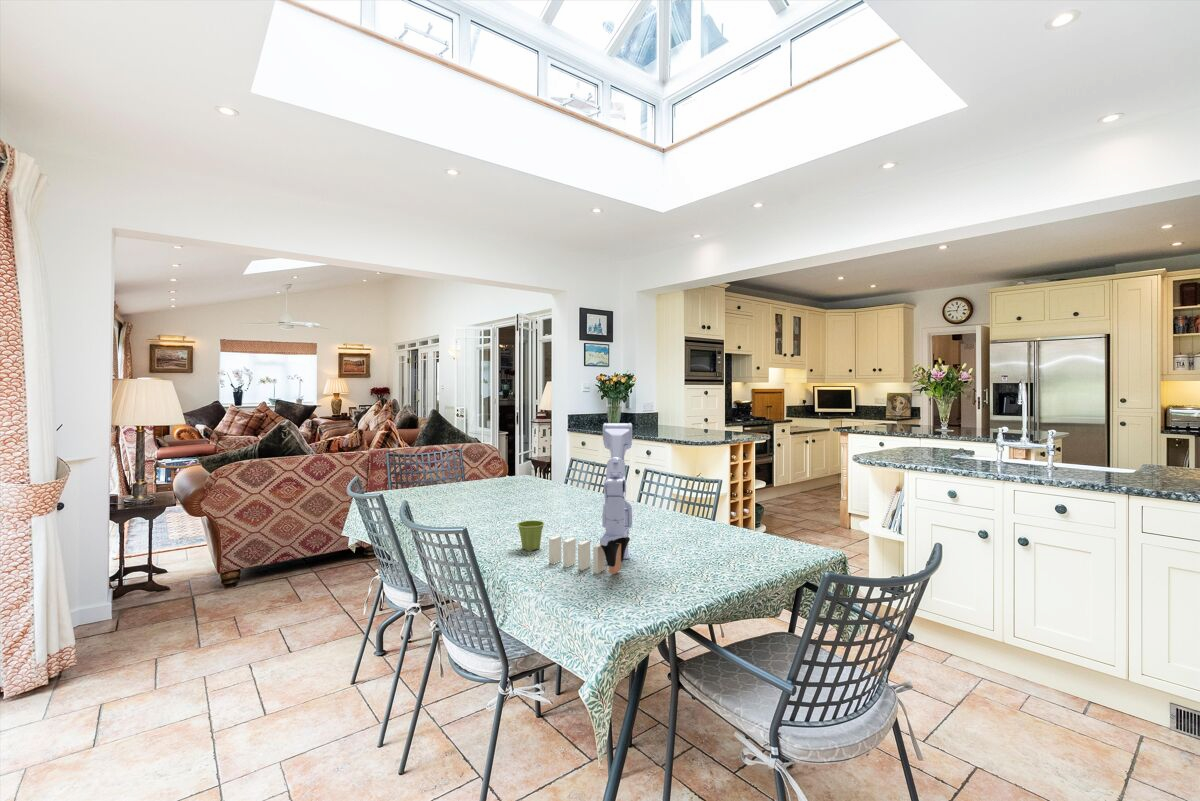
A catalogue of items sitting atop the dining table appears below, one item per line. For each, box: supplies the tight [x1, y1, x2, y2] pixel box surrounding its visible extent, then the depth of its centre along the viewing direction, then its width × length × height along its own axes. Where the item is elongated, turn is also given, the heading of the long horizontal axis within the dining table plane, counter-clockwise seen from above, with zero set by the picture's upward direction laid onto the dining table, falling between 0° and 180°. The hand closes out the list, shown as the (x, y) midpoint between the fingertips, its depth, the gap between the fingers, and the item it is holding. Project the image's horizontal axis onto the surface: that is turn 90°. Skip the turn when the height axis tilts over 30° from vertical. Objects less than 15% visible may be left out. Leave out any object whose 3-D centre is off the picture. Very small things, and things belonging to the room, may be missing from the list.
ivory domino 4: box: [592, 542, 606, 574], centre depth 164 cm, size 2×4×8 cm, turn 149°
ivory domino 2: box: [562, 537, 577, 568], centre depth 169 cm, size 2×4×8 cm, turn 149°
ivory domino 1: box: [548, 535, 562, 565], centre depth 172 cm, size 2×4×8 cm, turn 149°
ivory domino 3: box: [577, 540, 591, 571], centre depth 167 cm, size 2×4×8 cm, turn 149°
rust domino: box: [608, 543, 622, 575], centre depth 161 cm, size 2×4×8 cm, turn 149°
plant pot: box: [517, 519, 545, 551], centre depth 187 cm, size 9×9×9 cm
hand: (615, 563), depth 161 cm, fingers closed on rust domino, 4 cm apart
